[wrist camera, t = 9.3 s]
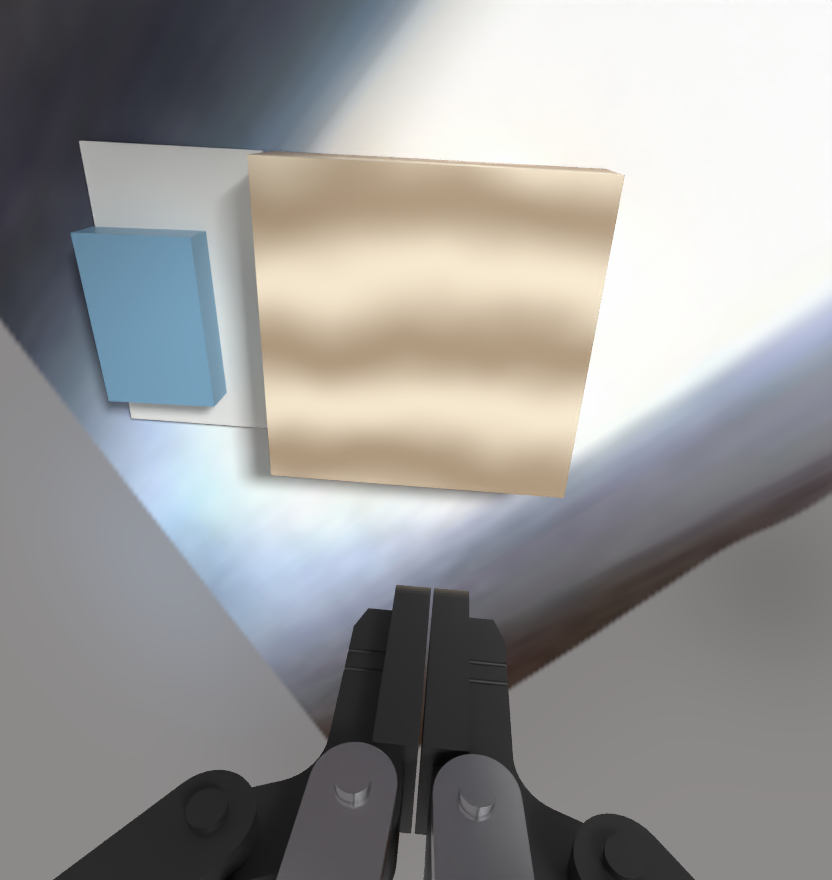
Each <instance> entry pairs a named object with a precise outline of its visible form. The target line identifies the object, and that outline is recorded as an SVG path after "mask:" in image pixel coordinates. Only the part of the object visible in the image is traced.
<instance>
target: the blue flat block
mask: <svg viewBox="0 0 832 880" xmlns="http://www.w3.org/2000/svg"><path fill="white" fill-rule="evenodd" d="M71 237H72V242H73V246H74V250H75V255H76V259H77V264H78V268H79V272H80V277H81V281H82V286H83V290H84V294H85V299H86V303H87V308H88V312H89V316H90V321H91V325H92V329H93V334H94V338H95V343H96V347H97V351H98V356H99V360H100V365H101V369H102V373H103V378H104V382H105V386H106V391H107V395H108V400H109V401H115V402H134V403H152V404H171V405H190V406H208V407H215V405H216V404H217V403H218V402H219V401H220V400H221V399H222V398H223V396H224V395H225V394H226V393H227V390H226V382H225V374H224V367H223V359H222V351H221V343H220V336H219V328H218V320H217V312H216V305H215V297H214V289H213V282H212V274H211V266H210V258H209V251H208V243H207V235H206V231H197V230H171V229H144V228H118V227H89V228H86V229H82V230H78V231H75V232H71Z"/></svg>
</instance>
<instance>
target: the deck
mask: <svg viewBox="0 0 832 880" xmlns="http://www.w3.org/2000/svg"><path fill="white" fill-rule="evenodd" d="M247 160H248V174H249V187H250V200H251V214H252V227H253V240H254V253H255V267H256V280H257V293H258V307H259V320H260V333H261V347H262V360H263V373H264V387H265V400H266V413H267V427H268V440H269V453H270V467H271V475H276V476H289V477H302V478H315V479H328V480H340V481H353V482H366V483H379V484H392V485H405V486H418V487H430V488H443V489H456V490H469V491H482V492H495V493H507V494H520V495H533V496H546V497H559V498H564V494H565V489H566V484H567V479H568V473H569V468H570V463H571V457H572V452H573V447H574V441H575V436H576V431H577V425H578V420H579V415H580V409H581V404H582V399H583V394H584V388H585V383H586V378H587V372H588V367H589V362H590V356H591V351H592V346H593V340H594V335H595V330H596V324H597V319H598V314H599V309H600V303H601V298H602V293H603V287H604V282H605V277H606V271H607V266H608V261H609V255H610V250H611V245H612V239H613V234H614V229H615V224H616V218H617V213H618V208H619V202H620V197H621V192H622V186H623V181H624V176H625V175H622V174H619V173H616V172H613V171H610V170H607V169H595V168H577V167H558V166H540V165H521V164H503V163H485V162H466V161H448V160H429V159H411V158H393V157H374V156H356V155H338V154H319V153H301V152H282V151H270V152H262V153H255V154H248V155H247Z"/></svg>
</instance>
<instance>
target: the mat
mask: <svg viewBox="0 0 832 880" xmlns="http://www.w3.org/2000/svg"><path fill="white" fill-rule="evenodd" d="M79 144H80V149H81V155H82V160H83V165H84V171H85V176H86V181H87V186H88V192H89V197H90V202H91V208H92V213H93V218H94V223H95V227H118V228H144V229H171V230H197V231H206V235H207V243H208V251H209V258H210V266H211V274H212V282H213V289H214V297H215V305H216V312H217V320H218V328H219V336H220V343H221V351H222V359H223V367H224V374H225V382H226V390H227V393H226V394H225V395H224V396H223V398H222V399H221V400H220V401H219V402H218V403H217V404H216V405H215V407H208V406H190V405H171V404H152V403H134V402H128V403H129V408H130V413H131V418H135V419H149V420H162V421H176V422H189V423H203V424H216V425H229V426H243V427H256V428H268V427H267V413H266V400H265V387H264V373H263V360H262V347H261V333H260V320H259V307H258V293H257V280H256V267H255V253H254V240H253V227H252V214H251V200H250V187H249V174H248V160H247V155H248V154H255V153H262V152H263V150H246V149H227V148H209V147H191V146H172V145H154V144H135V143H117V142H99V141H79Z"/></svg>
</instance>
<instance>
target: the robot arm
mask: <svg viewBox="0 0 832 880" xmlns="http://www.w3.org/2000/svg"><path fill="white" fill-rule="evenodd" d="M430 594H431V588H425V587H414V586H404V585H396V590H395V596H394V603H393V609H392V611H391V610H381V609H370V608H368V609H367V611H366V612H365V613H364V614H363V616H362V617H361V618H360V619H359V621H358V622H357V623H356V624H355V626H354V628H353V633H352V637H351V641H350V646H349V652H348V655H347V659H346V664H345V670H344V672H343V677H342V681H341V686H340V690H339V695H338V699H337V703H336V708H335V712H334V717H333V721H332V726H331V730H330V734H329V738H328V742H327V745H326V747H325V749H324V751H323V752H322V754H321V755H320V757H319V758H318V759H317V760H316V762H314V764H313V765H311V766H310V767H309V768H308V769H307V770H305V771H303V772H302V773H300V774H299V775H296V776H294V777H292V778H289V779H286V780H282V781H279V782H274V783H269V784H265V785H261V786H256V787H251V786H250V785H249V783H248V782H247V781H246V780H245V779H244V778H243V777H242V776H240V775H238V774H236V773H234V772H231V771H225V770H212V771H207V772H204V773H200V774H198V775H196V776H194V777H192V778H190V779H188V780H187V781H185V782H184V783H183V784H181V785H180V786H178V787H177V788H176V789H174V790H173V791H171V792H170V793H169V794H168V795H166V796H165V797H164V798H162V799H161V800H159V801H158V802H157V803H155V804H154V805H153V806H151V807H150V808H149V809H148V810H146V811H145V812H143V813H142V814H141V815H139V816H138V817H137V818H135V819H134V820H133V821H131V822H130V823H129V824H127V825H126V826H125V827H123V828H122V829H121V830H119V831H118V832H117V833H115V834H114V835H112V836H111V837H110V838H108V839H107V840H106V841H104V842H103V843H102V844H100V845H99V846H98V847H97V848H95V849H94V850H92V851H91V852H90V853H88V854H87V855H86V856H84V857H83V858H82V859H80V860H79V861H78V862H76V863H75V864H74V865H72V866H71V867H70V868H68V869H67V870H66V871H64V872H63V873H62V874H60V875H59V876H58V877H56V878H55V879H54V880H393V877H394V874H395V870H396V863H397V853H398V843H399V832H402V833H411V827H412V815H413V802H414V791H415V779H416V767H417V755H418V743H419V731H420V718H421V706H422V693H423V681H424V669H425V656H426V644H427V631H428V619H429V607H430ZM507 684H508V679H507V668H506V650H505V640H504V638H503V636H502V635H501V633H500V631H499V629H498V628H497V626H496V624H495V622H494V621H493V620H488V619H478V618H469V591H459V590H448V589H438V588H434V595H433V607H432V618H431V630H430V641H429V653H428V666H427V679H426V692H425V705H424V719H423V732H422V745H421V759H420V772H419V785H418V799H417V812H416V825H415V834H423V835H426V852H425V869H424V878H423V880H695V879H694V878H693V877H692V876H691V875H690V874H689V873H688V872H687V871H686V870H685V869H684V868H683V867H682V866H681V864H680V863H679V862H678V861H677V860H676V859H675V858H674V857H673V856H672V855H671V854H670V853H669V852H668V851H667V850H666V849H665V848H664V846H663V845H662V844H661V843H660V842H659V841H658V840H657V839H656V838H655V837H654V836H653V835H652V834H651V833H650V832H649V831H648V830H647V829H646V828H644V827H643V826H641V825H640V824H639V823H637V822H635V821H633V820H632V819H629V818H626V817H624V816H620V815H616V814H600V815H596V816H593V817H591V818H590V819H588V820H586V821H585V822H584V823H582V822H580V821H578V820H575V819H573V818H571V817H569V816H566V815H564V814H562V813H560V812H558V811H556V810H553V809H551V808H550V807H548V806H546V805H544V804H543V803H541V802H540V801H538V800H537V799H536V798H535V797H534V796H533V795H532V794H531V793H530V792H529V791H528V790H527V789H526V787H525V786H524V785H523V783H522V782H521V780H520V778H519V776H518V774H517V772H516V769H515V766H514V762H513V753H512V738H511V723H510V708H509V694H508V686H507Z"/></svg>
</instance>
